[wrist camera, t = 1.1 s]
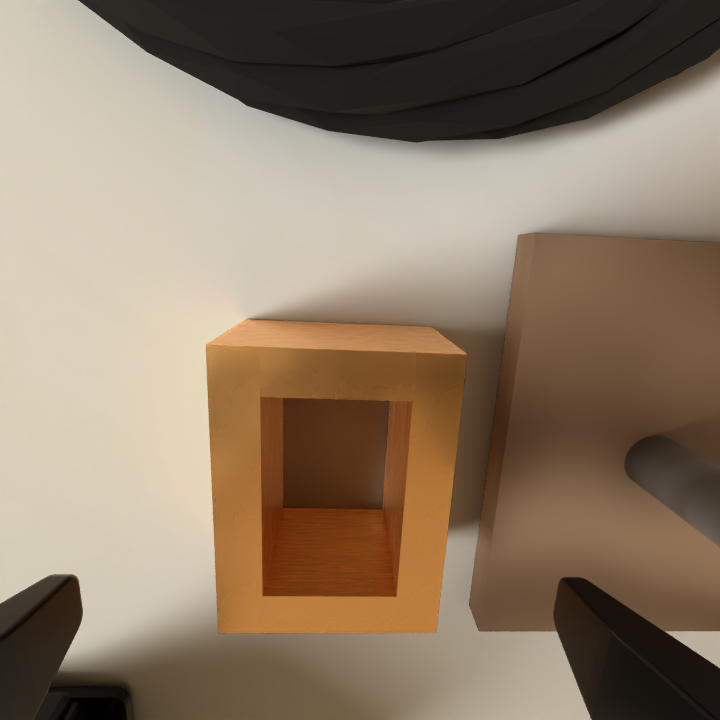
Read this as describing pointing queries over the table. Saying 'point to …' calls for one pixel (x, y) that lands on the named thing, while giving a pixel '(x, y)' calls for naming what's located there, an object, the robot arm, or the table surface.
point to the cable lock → (424, 57)
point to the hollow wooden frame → (329, 525)
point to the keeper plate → (605, 434)
